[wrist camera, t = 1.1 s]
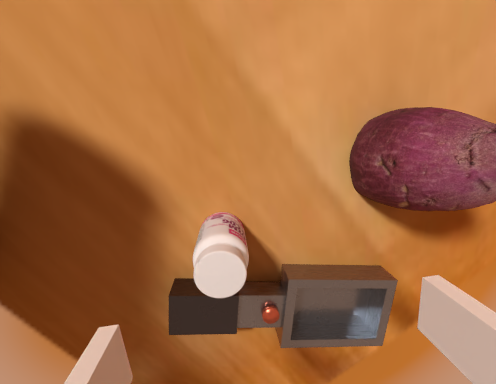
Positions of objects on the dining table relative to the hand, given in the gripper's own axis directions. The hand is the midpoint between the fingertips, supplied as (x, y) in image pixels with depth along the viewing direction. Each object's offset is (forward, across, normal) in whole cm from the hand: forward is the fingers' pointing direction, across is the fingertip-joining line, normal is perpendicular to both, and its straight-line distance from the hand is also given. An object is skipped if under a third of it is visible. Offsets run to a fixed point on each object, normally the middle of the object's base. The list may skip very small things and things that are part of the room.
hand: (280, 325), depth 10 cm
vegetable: (+16, +16, +4) cm, 23 cm away
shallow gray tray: (+16, +3, -11) cm, 20 cm away
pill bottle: (+16, -3, -2) cm, 17 cm away
